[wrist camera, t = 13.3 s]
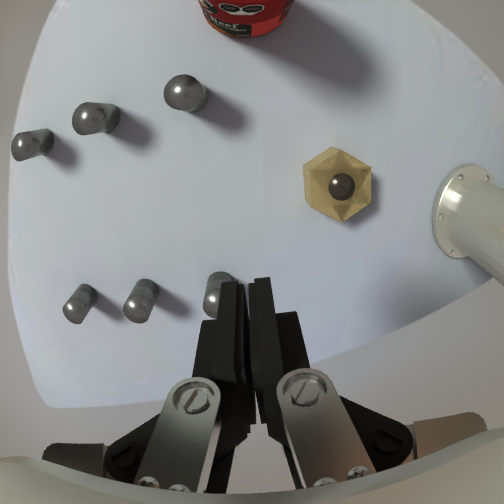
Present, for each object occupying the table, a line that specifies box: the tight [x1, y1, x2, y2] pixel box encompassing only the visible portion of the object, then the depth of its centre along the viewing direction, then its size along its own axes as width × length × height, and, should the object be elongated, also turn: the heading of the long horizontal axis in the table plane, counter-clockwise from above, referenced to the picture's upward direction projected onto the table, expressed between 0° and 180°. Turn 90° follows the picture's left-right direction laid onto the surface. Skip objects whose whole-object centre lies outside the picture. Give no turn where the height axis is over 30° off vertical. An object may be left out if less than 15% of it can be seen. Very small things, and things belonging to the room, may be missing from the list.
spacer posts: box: [11, 75, 234, 324], centre depth 26 cm, size 21×23×4 cm
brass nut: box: [303, 147, 371, 222], centre depth 26 cm, size 7×6×3 cm
